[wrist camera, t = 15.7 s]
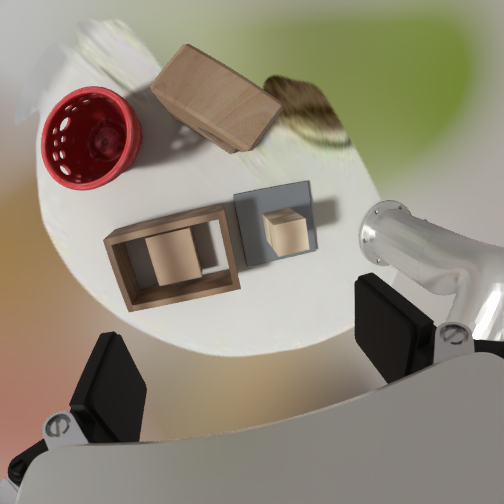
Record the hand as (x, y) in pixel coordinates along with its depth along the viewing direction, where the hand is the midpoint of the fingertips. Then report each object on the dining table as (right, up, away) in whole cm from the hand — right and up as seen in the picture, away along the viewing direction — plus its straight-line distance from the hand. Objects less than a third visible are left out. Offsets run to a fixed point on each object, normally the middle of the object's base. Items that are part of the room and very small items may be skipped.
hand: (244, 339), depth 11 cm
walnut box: (-12, +3, +36) cm, 38 cm away
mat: (+4, +8, +37) cm, 38 cm away
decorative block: (-6, +23, +30) cm, 38 cm away
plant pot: (-21, +21, +29) cm, 41 cm away
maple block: (+4, +8, +36) cm, 37 cm away
